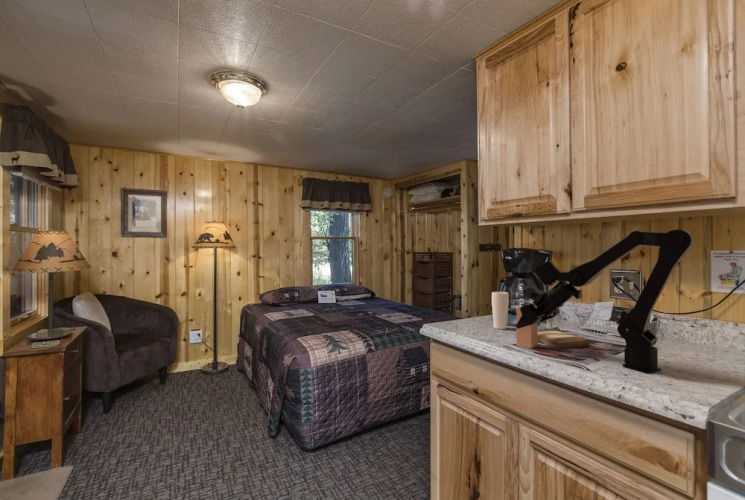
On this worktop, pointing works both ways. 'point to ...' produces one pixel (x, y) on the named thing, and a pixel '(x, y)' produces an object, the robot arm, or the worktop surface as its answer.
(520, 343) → the terracotta tower brick
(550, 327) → the pacifier
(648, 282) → the robot arm
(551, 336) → the wooden board
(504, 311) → the drinking glass
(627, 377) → the worktop surface
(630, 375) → the worktop surface
